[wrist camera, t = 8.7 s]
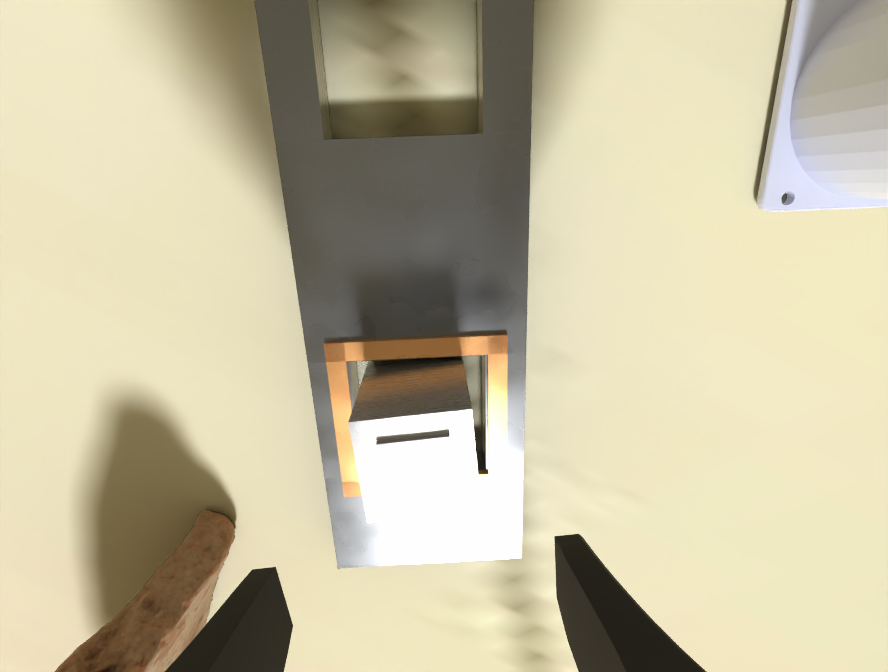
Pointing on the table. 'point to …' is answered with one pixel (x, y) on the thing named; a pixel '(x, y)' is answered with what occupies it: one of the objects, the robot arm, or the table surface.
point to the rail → (410, 269)
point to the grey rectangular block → (415, 439)
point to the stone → (162, 607)
